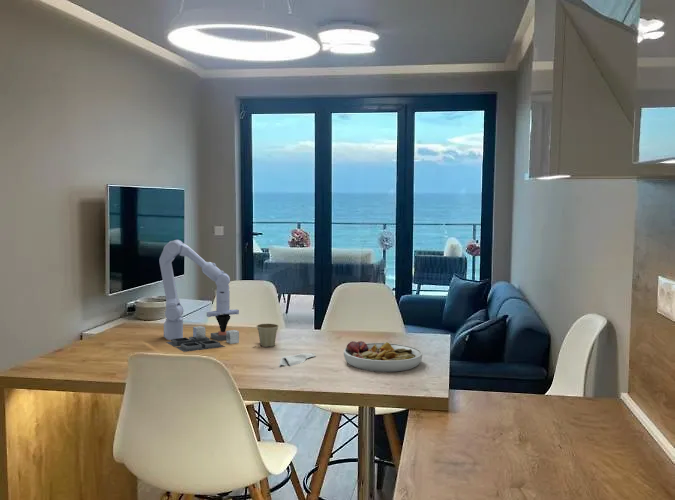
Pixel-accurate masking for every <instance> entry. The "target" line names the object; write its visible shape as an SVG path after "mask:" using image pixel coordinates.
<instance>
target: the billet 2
mask: <svg viewBox="0 0 675 500" xmlns="http://www.w3.org/2000/svg"><path fill="white" fill-rule="evenodd" d="M225 342H226V343H228V344H230V345H232V344H233V345H234V344H240V331H239V330H237V329H230V330H226V340H225Z"/></svg>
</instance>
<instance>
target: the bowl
mask: <svg viewBox="0 0 675 500" xmlns="http://www.w3.org/2000/svg"><path fill="white" fill-rule="evenodd" d="M343 357H344V360H345V361H346V362H347V364H349V365H350V366H352V367H353V368H356V369H359V370H363V371H370V372H378V373H379V372H380V373H393V372H394V373H395V372H403V371H408V370H411V369H413V368H416V367H417V366H418V365H420V364H421V362H422V359H423V351H422V350H421V349H419V348H416V347H413V346H410V345H406V344H405V345H404V344H399V343H390V342H364V341H362V340H360V341H354V340H351V341H350V342H348V343H347V344H346V347H345V348H344V349H343Z"/></svg>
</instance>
